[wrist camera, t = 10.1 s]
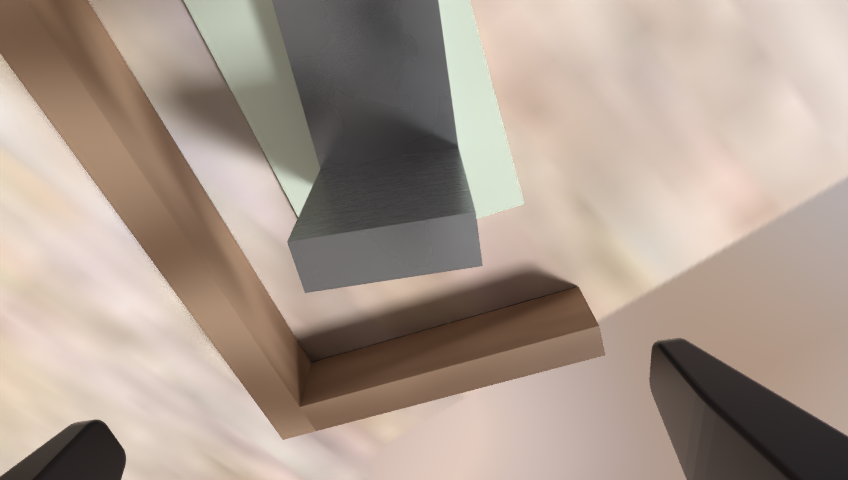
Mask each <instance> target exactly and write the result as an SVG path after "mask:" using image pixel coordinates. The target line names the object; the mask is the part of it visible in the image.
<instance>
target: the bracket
mask: <svg viewBox="0 0 848 480" xmlns="http://www.w3.org/2000/svg"><path fill="white" fill-rule="evenodd" d="M272 3H273V6H274V10H275V13H276V17H277V20H278V24H279V27H280V31H281V34H282V38H283V41H284V44H285V48H286V51H287V55H288V58H289V62H290V65H291V69H292V72H293V76H294V79H295V83H296V86H297V90H298V93H299V97H300V100H301V104H302V107H303V111H304V114H305V117H306V121H307V124H308V128H309V131H310V135H311V138H312V142H313V145H314V149H315V152H316V156H317V159H318V163H319V166H320V171H319V173H318V175H317V177H316V180H315V182H314V184H313V186H312V188H311V191H310V193H309V195H308V197H307V199H306V202H305V204H304V206H303V208H302V211H301V213H300V215H299V217H298V219H297V222H296V224H295V226H294V228H293V230H292V233H291V235H290V237H289V239H288V245H289V248H290V251H291V254H292V257H293V259H294V262H295V265H296V268H297V271H298V274H299V277H300V279H301V282H302V285H303V288H304V291H305V293H308V292H314V291H321V290H327V289H334V288H341V287H347V286H354V285H360V284H367V283H373V282H380V281H387V280H393V279H400V278H406V277H413V276H419V275H426V274H432V273H439V272H446V271H452V270H459V269H465V268H472V267H478V266H482V258H481V251H480V243H479V235H478V227H477V219H476V212H475V208H474V204H473V200H472V196H471V193H470V189H469V185H468V181H467V177H466V174H465V170H464V166H463V162H462V158H461V155H460V151H459V147H458V141H457V133H456V126H455V119H454V111H453V104H452V97H451V89H450V82H449V75H448V68H447V60H446V53H445V46H444V38H443V31H442V24H441V16H440V9H439V2H438V0H272Z"/></svg>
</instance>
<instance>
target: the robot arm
mask: <svg viewBox="0 0 848 480" xmlns="http://www.w3.org/2000/svg"><path fill="white" fill-rule="evenodd" d="M650 388H651V392H652V395H653V397H654V400H655V402H656V405H657V407H658V410H659V412H660V415H661V417H662V420H663V422H664V425H665V427H666V430H667V432H668V435H669V437H670V439H671V442H672V445H673V447H674V449H675V452H676V454H677V456H678V459H679V462H680V464H681V467H682V469H683V472H684V474H685V476H686V479H687V480H848V436H847V435H845V434H844V433H842V432H840V431H838V430H837V429H835V428H833V427H832V426H830V425H828V424H827V423H825V422H823V421H822V420H820V419H818V418H817V417H815V416H813V415H812V414H810V413H808V412H806V411H805V410H803V409H801V408H800V407H798V406H796V405H795V404H793V403H791V402H790V401H788V400H786V399H784V398H783V397H781V396H780V395H778V394H776V393H774V392H773V391H771V390H769V389H768V388H766V387H764V386H763V385H761V384H759V383H758V382H756V381H754V380H752V379H751V378H749V377H748V376H746V375H744V374H742V373H741V372H739V371H737V370H735V369H734V368H732V367H731V366H729V365H727V364H726V363H724V362H722V361H721V360H719V359H717V358H715V357H714V356H712V355H710V354H709V353H707V352H705V351H704V350H702V349H700V348H699V347H697V346H695V345H694V344H692V343H690V342H689V341H687V340H685V339H682V338H674V339H667V340H659V341H657V342H655V343H654V344H653V346H652V353H651V366H650ZM125 464H126V454H125V451H124V449H123V447H122V446H121V445H120V443H119V442H118V440H117V439H116V438H115V436H114V435H113V433H112V432H111V430H110V429H109V428H108V426H107V425H106V424H105V423H104V422H103V421H101V420H89V421H82V422H77V423H73V424H71V425H70V426H68V427H67V428H65V429H64V430H63V431H61V432H60V433H59V434H57V435H56V436H55V437H53V438H52V439H50V440H49V441H48V442H46V443H45V444H44V445H42V446H41V447H40V448H38V449H37V450H36V451H34V452H33V453H32V454H30V455H29V456H28V457H26V458H25V459H23V460H22V461H21V462H19V463H18V464H17V465H15V466H14V467H13V468H11V469H10V470H9V471H7V472H6V473H5V474H3V475H2V476H0V480H121V478H122V474H123V471H124V468H125Z"/></svg>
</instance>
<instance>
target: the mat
mask: <svg viewBox="0 0 848 480" xmlns="http://www.w3.org/2000/svg"><path fill="white" fill-rule="evenodd" d="M183 1H184V2H185V4H186V6H187V8H188V10H189V12H190V14H191V16H192V18H193V19H194V21H195V23H196V25H197V27H198V29H199V31H200V33H201V35H202V36H203V38H204V40H205V42H206V44H207V46H208V48H209V50H210V52H211V53H212V55H213V57H214V59H215V61H216V63H217V65H218V67H219V69H220V71H221V72H222V74H223V76H224V78H225V80H226V82H227V84H228V86H229V88H230V89H231V91H232V93H233V95H234V97H235V99H236V101H237V103H238V105H239V106H240V108H241V110H242V112H243V114H244V116H245V118H246V120H247V122H248V123H249V125H250V127H251V129H252V131H253V133H254V135H255V137H256V139H257V140H258V142H259V144H260V146H261V148H262V150H263V152H264V154H265V156H266V157H267V159H268V161H269V163H270V165H271V167H272V169H273V171H274V173H275V174H276V176H277V178H278V180H279V182H280V184H281V186H282V188H283V190H284V191H285V193H286V195H287V197H288V199H289V201H290V203H291V205H292V207H293V208H294V210H295V212H296V214H297V216H298V217H299V215H300V213H301V211H302V208H303V206H304V204H305V202H306V199H307V197H308V195H309V193H310V191H311V188H312V186H313V184H314V182H315V180H316V177H317V175H318V173H319V171H320V166H319V163H318V159H317V156H316V152H315V149H314V145H313V142H312V138H311V135H310V131H309V128H308V124H307V121H306V117H305V114H304V111H303V107H302V104H301V100H300V97H299V93H298V90H297V86H296V83H295V79H294V76H293V72H292V69H291V65H290V62H289V58H288V55H287V51H286V48H285V44H284V41H283V38H282V34H281V31H280V27H279V24H278V20H277V17H276V13H275V10H274V6H273V3H272V0H183ZM438 2H439V9H440V16H441V24H442V31H443V38H444V46H445V53H446V60H447V68H448V75H449V82H450V89H451V97H452V104H453V111H454V119H455V126H456V133H457V141H458V147H459V151H460V155H461V158H462V162H463V166H464V170H465V174H466V177H467V181H468V185H469V189H470V193H471V196H472V200H473V204H474V208H475V212H476V219H478V218H481V217H485V216H488V215H491V214H494V213H497V212H501V211H504V210H507V209H510V208H513V207H516V206H520V205H523V204H524V200H523V196H522V193H521V189H520V185H519V182H518V178H517V174H516V170H515V167H514V163H513V159H512V155H511V152H510V148H509V144H508V140H507V137H506V133H505V129H504V126H503V122H502V118H501V114H500V111H499V107H498V103H497V99H496V96H495V92H494V88H493V84H492V81H491V77H490V73H489V70H488V66H487V62H486V58H485V55H484V51H483V47H482V43H481V40H480V36H479V32H478V28H477V25H476V21H475V17H474V14H473V10H472V6H471V2H470V0H438Z"/></svg>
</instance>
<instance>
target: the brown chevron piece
mask: <svg viewBox="0 0 848 480" xmlns="http://www.w3.org/2000/svg"><path fill="white" fill-rule="evenodd" d="M0 53H1V55H2V56H3V57H4V59H5V60H6V62H7V63H8V64H9V66H10V67H11V68H12V70H13V71H14V72H15V74H16V75H17V77H18V78H19V79H20V81H21V82H22V83H23V85H24V86H25V88H26V89H27V90H28V92H29V93H30V94H31V96H32V97H33V98H34V100H35V101H36V103H37V104H38V105H39V107H40V108H41V109H42V111H43V112H44V113H45V115H46V116H47V118H48V119H49V120H50V122H51V123H52V124H53V126H54V127H55V129H56V130H57V131H58V133H59V134H60V135H61V137H62V138H63V139H64V141H65V142H66V144H67V145H68V146H69V148H70V149H71V150H72V152H73V153H74V155H75V156H76V157H77V159H78V160H79V161H80V163H81V164H82V165H83V167H84V168H85V170H86V171H87V172H88V174H89V175H90V176H91V178H92V179H93V181H94V182H95V183H96V185H97V186H98V187H99V189H100V190H101V191H102V193H103V194H104V196H105V197H106V198H107V200H108V201H109V202H110V204H111V205H112V206H113V208H114V209H115V211H116V212H117V213H118V215H119V216H120V217H121V219H122V220H123V222H124V223H125V224H126V226H127V227H128V228H129V230H130V231H131V232H132V234H133V235H134V237H135V238H136V239H137V241H138V242H139V243H140V245H141V246H142V248H143V249H144V250H145V252H146V253H147V254H148V256H149V257H150V258H151V260H152V261H153V263H154V264H155V265H156V267H157V268H158V269H159V271H160V272H161V273H162V275H163V276H164V278H165V279H166V280H167V282H168V283H169V284H170V286H171V287H172V289H173V290H174V291H175V293H176V294H177V295H178V297H179V298H180V299H181V301H182V302H183V304H184V305H185V306H186V308H187V309H188V310H189V312H190V313H191V315H192V316H193V317H194V319H195V320H196V321H197V323H198V324H199V325H200V327H201V328H202V330H203V331H204V332H205V334H206V335H207V336H208V338H209V339H210V340H211V342H212V343H213V345H214V346H215V347H216V349H217V350H218V351H219V353H220V354H221V356H222V357H223V358H224V360H225V361H226V362H227V364H228V365H229V366H230V368H231V369H232V371H233V372H234V373H235V375H236V376H237V377H238V379H239V380H240V382H241V383H242V384H243V386H244V387H245V388H246V390H247V391H248V392H249V394H250V395H251V397H252V398H253V399H254V401H255V402H256V403H257V405H258V406H259V408H260V409H261V410H262V412H263V413H264V414H265V416H266V417H267V418H268V420H269V421H270V423H271V424H272V425H273V427H274V428H275V429H276V431H277V432H278V433H279V435H280V436H281V438H282V439H283V440H284V439H288V438H291V437H295V436H299V435H303V434H307V433H311V432H314V431H318V430H322V429H326V428H330V427H333V426H337V425H341V424H345V423H349V422H352V421H356V420H360V419H364V418H368V417H371V416H375V415H379V414H383V413H387V412H391V411H394V410H398V409H402V408H406V407H410V406H413V405H417V404H421V403H425V402H429V401H432V400H436V399H440V398H444V397H448V396H451V395H455V394H459V393H463V392H467V391H471V390H474V389H478V388H482V387H486V386H490V385H493V384H497V383H501V382H505V381H508V380H512V379H516V378H520V377H524V376H528V375H531V374H535V373H539V372H543V371H547V370H550V369H554V368H558V367H562V366H566V365H570V364H573V363H577V362H581V361H585V360H589V359H592V358H596V357H600V356H604V355H605V352H604V347H603V343H602V338H601V333H600V328H599V325H598V323H597V321H596V319H595V317H594V315H593V313H592V312H591V310H590V308H589V306H588V304H587V302H586V300H585V298H584V296H583V294H582V292H581V291H580V289H579V287H576V288H572V289H569V290H565V291H562V292H558V293H555V294H551V295H548V296H544V297H541V298H537V299H534V300H530V301H527V302H523V303H519V304H516V305H512V306H509V307H505V308H502V309H498V310H495V311H491V312H488V313H484V314H481V315H477V316H474V317H470V318H467V319H463V320H460V321H456V322H453V323H449V324H446V325H442V326H439V327H435V328H432V329H428V330H425V331H421V332H418V333H414V334H410V335H407V336H403V337H400V338H396V339H393V340H389V341H386V342H382V343H379V344H375V345H372V346H368V347H365V348H361V349H358V350H354V351H351V352H347V353H344V354H340V355H337V356H333V357H330V358H326V359H323V360H319V361H316V362H312V363H311V362H310V360H309V359H308V357H307V356H306V354H305V352H304V351H303V349H302V347H301V346H300V344H299V343H298V341H297V339H296V338H295V336H294V334H293V333H292V331H291V330H290V328H289V326H288V325H287V323H286V321H285V320H284V318H283V317H282V315H281V313H280V312H279V310H278V309H277V307H276V305H275V304H274V302H273V300H272V299H271V297H270V296H269V294H268V292H267V291H266V289H265V287H264V286H263V284H262V283H261V281H260V279H259V278H258V276H257V274H256V273H255V271H254V270H253V268H252V266H251V265H250V263H249V261H248V260H247V258H246V257H245V255H244V253H243V252H242V250H241V249H240V247H239V245H238V244H237V242H236V240H235V239H234V237H233V236H232V234H231V232H230V231H229V229H228V227H227V226H226V224H225V223H224V221H223V219H222V218H221V216H220V214H219V213H218V211H217V210H216V208H215V206H214V205H213V203H212V201H211V200H210V198H209V197H208V195H207V193H206V192H205V190H204V189H203V187H202V185H201V184H200V182H199V180H198V179H197V177H196V176H195V174H194V172H193V171H192V169H191V167H190V166H189V164H188V163H187V161H186V159H185V158H184V156H183V154H182V153H181V151H180V150H179V148H178V146H177V145H176V143H175V141H174V140H173V138H172V137H171V135H170V133H169V132H168V130H167V129H166V127H165V125H164V124H163V122H162V120H161V119H160V117H159V116H158V114H157V112H156V111H155V109H154V107H153V106H152V104H151V103H150V101H149V99H148V98H147V96H146V94H145V93H144V91H143V90H142V88H141V86H140V85H139V83H138V81H137V80H136V78H135V77H134V75H133V73H132V72H131V70H130V69H129V67H128V65H127V64H126V62H125V60H124V59H123V57H122V56H121V54H120V52H119V51H118V49H117V47H116V46H115V44H114V43H113V41H112V39H111V38H110V36H109V34H108V33H107V31H106V30H105V28H104V26H103V25H102V23H101V21H100V20H99V18H98V17H97V15H96V13H95V12H94V10H93V9H92V7H91V5H90V4H89V2H88V0H0Z"/></svg>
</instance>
